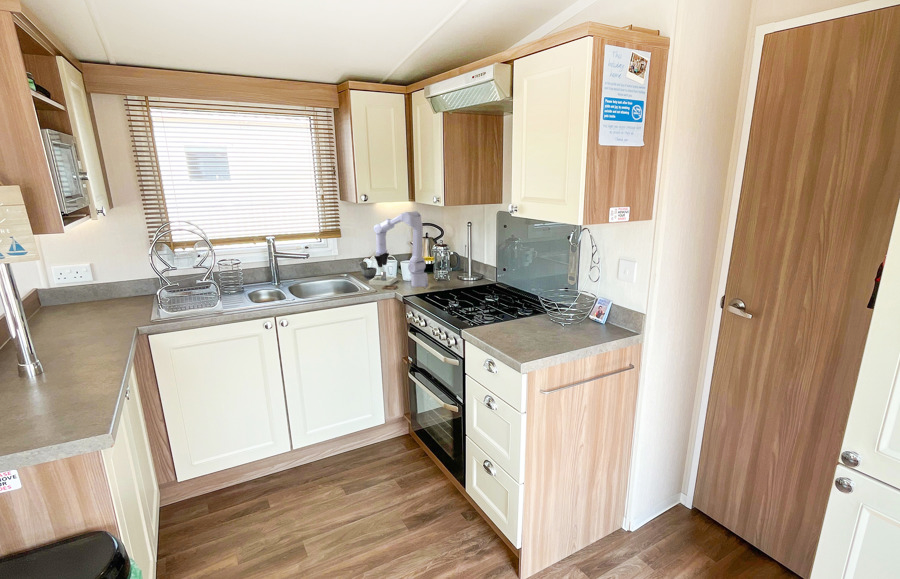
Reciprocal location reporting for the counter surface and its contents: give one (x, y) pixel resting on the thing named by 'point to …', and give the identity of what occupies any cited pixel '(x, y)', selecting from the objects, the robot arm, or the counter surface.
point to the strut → (383, 276)
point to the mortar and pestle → (368, 271)
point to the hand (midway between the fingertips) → (382, 266)
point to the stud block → (390, 287)
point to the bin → (375, 281)
